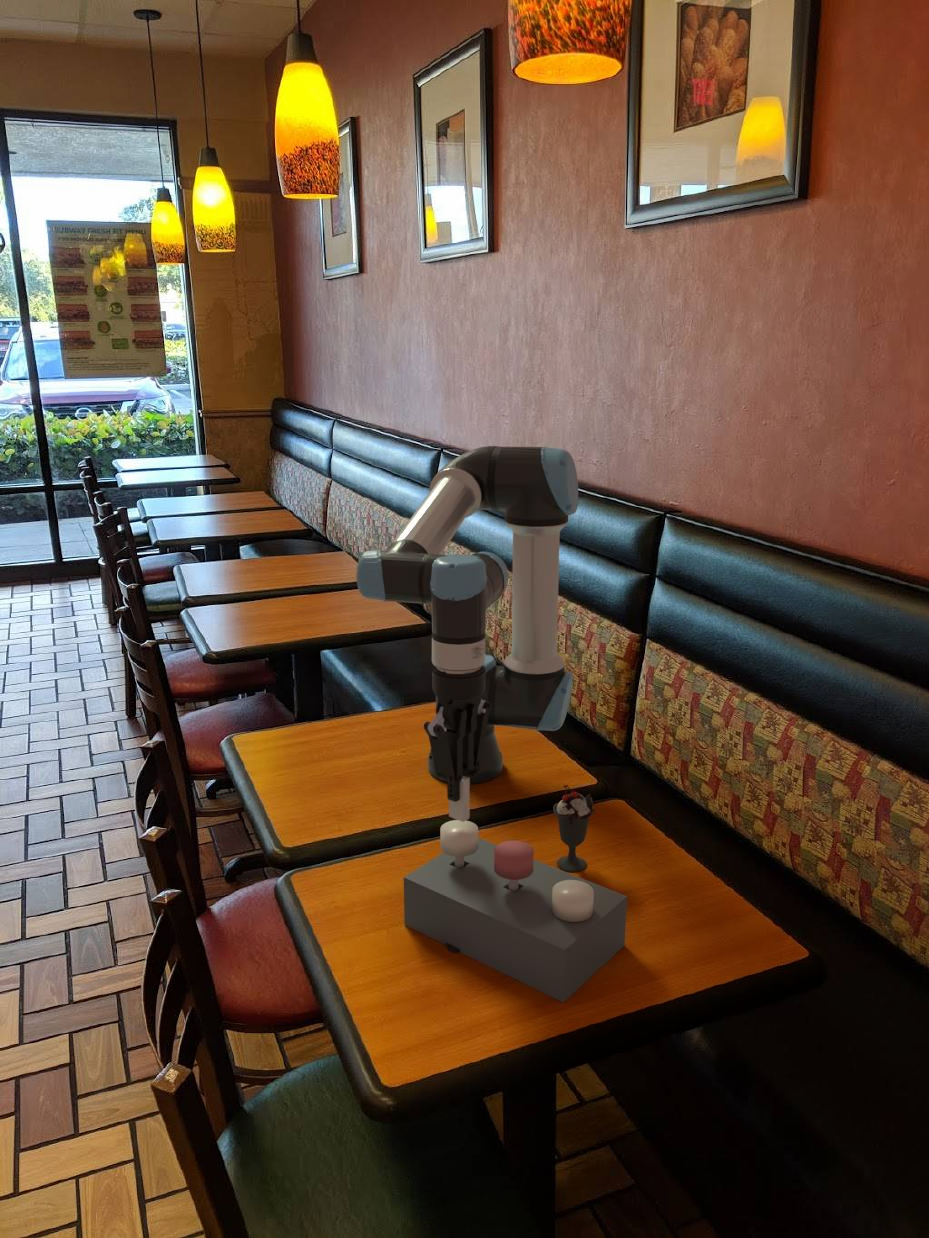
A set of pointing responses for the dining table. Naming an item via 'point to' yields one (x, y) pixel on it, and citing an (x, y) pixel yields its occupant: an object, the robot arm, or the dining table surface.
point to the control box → (514, 920)
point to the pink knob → (513, 861)
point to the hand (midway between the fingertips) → (459, 817)
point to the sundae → (573, 827)
